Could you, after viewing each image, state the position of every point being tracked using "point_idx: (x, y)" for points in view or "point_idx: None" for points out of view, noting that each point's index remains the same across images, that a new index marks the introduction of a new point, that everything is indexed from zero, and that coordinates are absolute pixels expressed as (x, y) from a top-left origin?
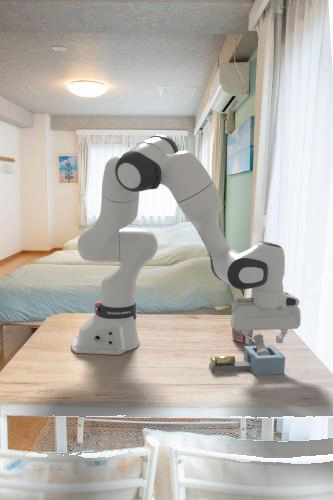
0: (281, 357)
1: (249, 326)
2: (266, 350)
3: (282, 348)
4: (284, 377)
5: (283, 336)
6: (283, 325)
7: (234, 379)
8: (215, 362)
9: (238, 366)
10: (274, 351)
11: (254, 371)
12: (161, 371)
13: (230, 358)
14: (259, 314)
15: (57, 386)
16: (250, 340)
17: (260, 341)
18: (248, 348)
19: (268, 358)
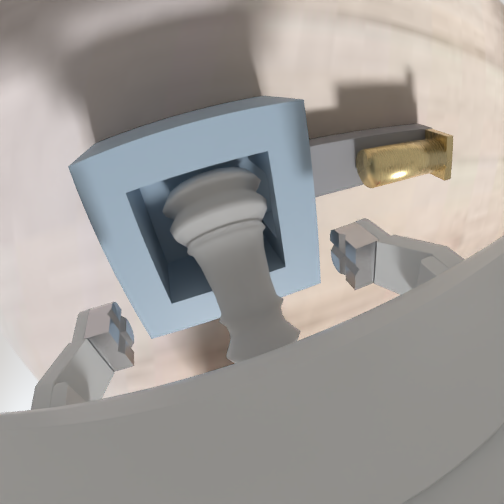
0: (94, 154)
1: (491, 282)
2: (204, 217)
3: (116, 383)
4: (98, 101)
5: (68, 351)
6: (50, 446)
7: (353, 55)
8: (433, 138)
9: (339, 140)
10: (140, 250)
11: (265, 97)
12: (499, 135)
13: (394, 157)
14: (496, 477)
15: None
16: (362, 237)
17: (252, 300)
18: (307, 256)
19: (196, 120)
